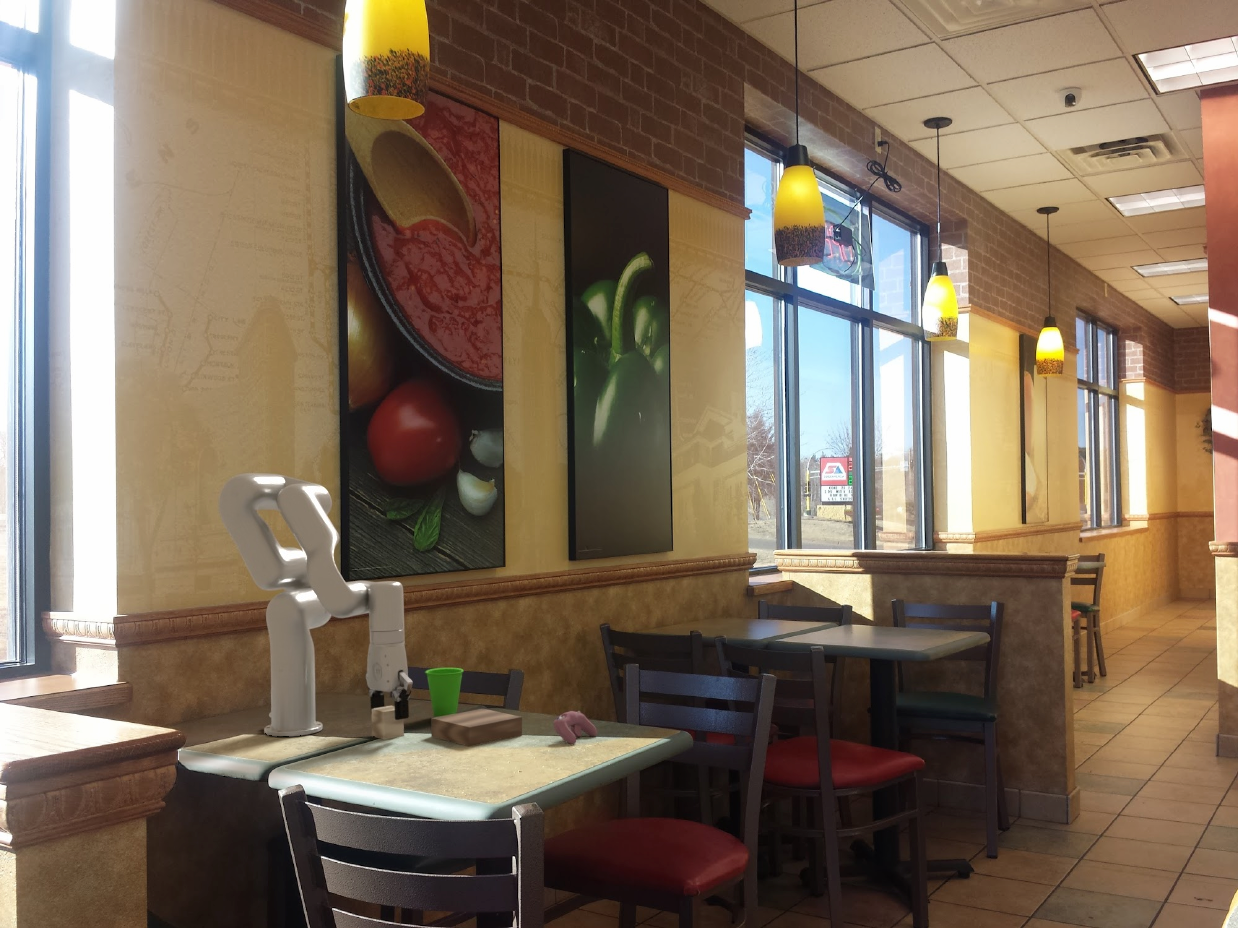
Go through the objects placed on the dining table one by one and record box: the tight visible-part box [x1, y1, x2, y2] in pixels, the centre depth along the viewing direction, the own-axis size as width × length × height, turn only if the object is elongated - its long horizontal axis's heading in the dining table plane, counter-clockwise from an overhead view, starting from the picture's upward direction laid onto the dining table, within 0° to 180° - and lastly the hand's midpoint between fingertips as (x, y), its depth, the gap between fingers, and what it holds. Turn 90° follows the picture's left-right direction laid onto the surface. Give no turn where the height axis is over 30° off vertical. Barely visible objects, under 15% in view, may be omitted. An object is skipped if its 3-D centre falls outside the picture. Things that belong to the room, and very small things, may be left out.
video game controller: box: [552, 710, 598, 745], centre depth 236 cm, size 10×5×7 cm, turn 149°
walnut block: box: [430, 708, 523, 748], centre depth 240 cm, size 14×14×4 cm
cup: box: [424, 667, 464, 718], centre depth 261 cm, size 9×9×11 cm
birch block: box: [371, 705, 405, 740], centre depth 242 cm, size 5×5×6 cm
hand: (389, 716), depth 242 cm, fingers open, 9 cm apart
